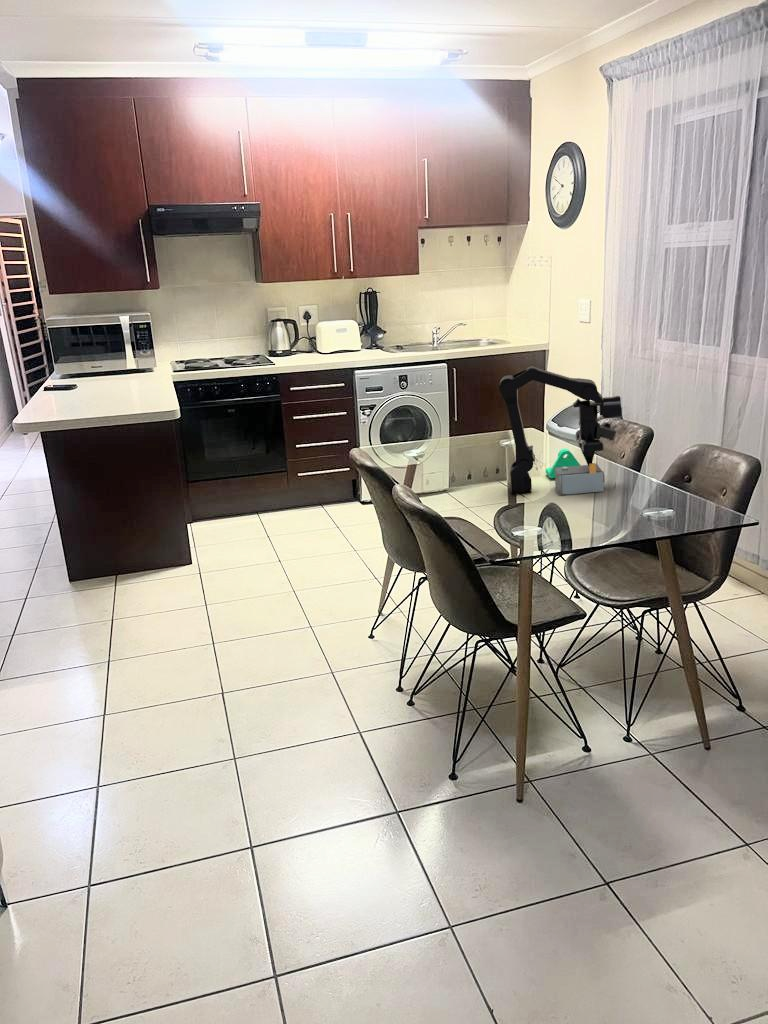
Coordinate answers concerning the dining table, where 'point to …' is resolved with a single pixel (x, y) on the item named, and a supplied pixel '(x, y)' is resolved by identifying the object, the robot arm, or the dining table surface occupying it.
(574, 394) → the robot arm
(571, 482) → the side door
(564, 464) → the camera mount
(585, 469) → the camera body
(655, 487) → the dining table surface
